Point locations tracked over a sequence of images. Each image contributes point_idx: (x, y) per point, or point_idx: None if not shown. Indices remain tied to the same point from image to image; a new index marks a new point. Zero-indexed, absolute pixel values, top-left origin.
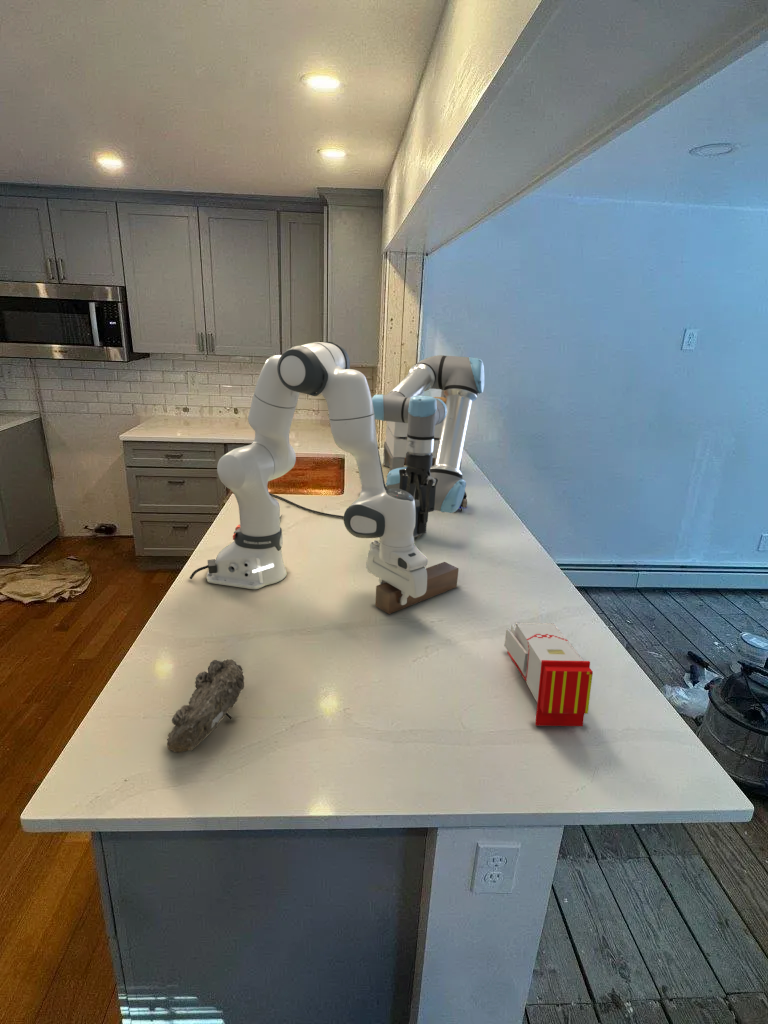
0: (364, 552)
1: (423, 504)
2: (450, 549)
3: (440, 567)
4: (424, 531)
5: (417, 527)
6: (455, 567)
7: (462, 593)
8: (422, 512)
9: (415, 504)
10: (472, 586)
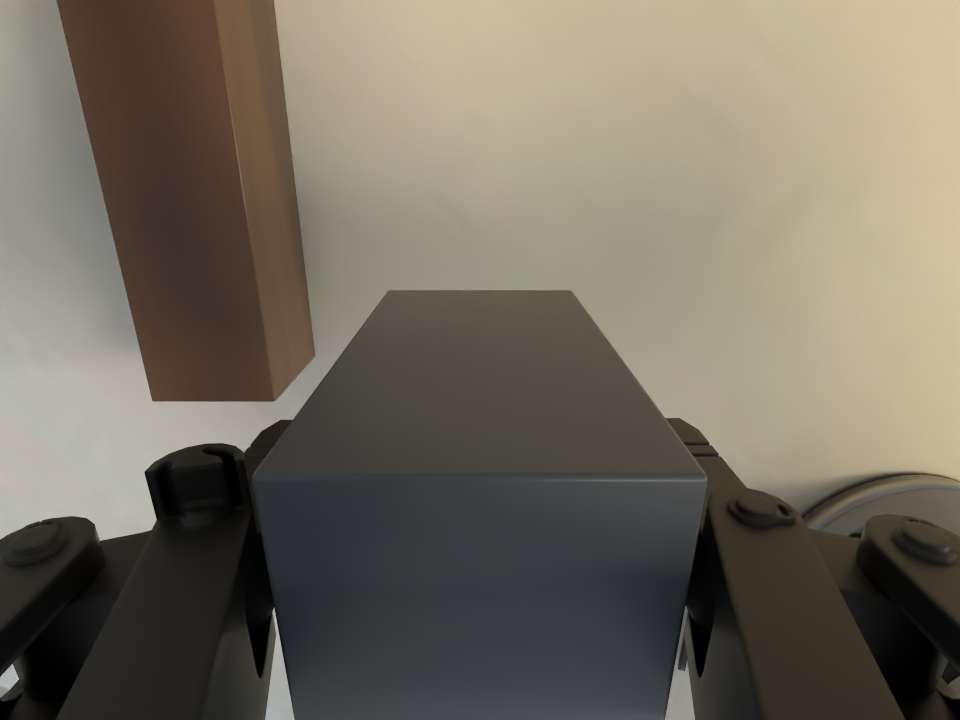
0: (869, 238)
1: (104, 657)
2: None
3: (213, 318)
4: None
5: None
6: (170, 395)
7: None
8: (165, 485)
9: (406, 583)
10: (188, 422)
